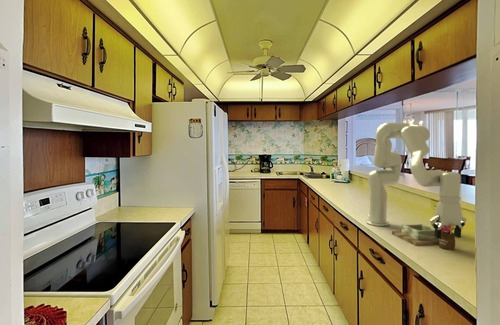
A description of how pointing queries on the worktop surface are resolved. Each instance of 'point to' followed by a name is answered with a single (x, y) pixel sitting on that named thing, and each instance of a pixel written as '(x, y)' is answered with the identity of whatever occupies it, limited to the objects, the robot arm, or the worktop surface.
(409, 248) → the worktop surface
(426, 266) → the worktop surface
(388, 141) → the robot arm
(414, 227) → the collar stand
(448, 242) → the utensil holder
